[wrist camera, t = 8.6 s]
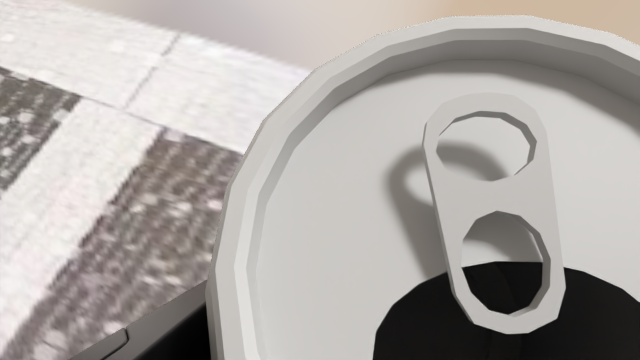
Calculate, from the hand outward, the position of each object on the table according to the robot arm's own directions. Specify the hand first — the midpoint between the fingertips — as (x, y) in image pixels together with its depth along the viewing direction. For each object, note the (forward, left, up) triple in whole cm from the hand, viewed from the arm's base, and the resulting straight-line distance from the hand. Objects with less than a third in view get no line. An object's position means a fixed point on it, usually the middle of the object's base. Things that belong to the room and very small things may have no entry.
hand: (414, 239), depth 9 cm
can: (-1, +1, -7) cm, 7 cm away
